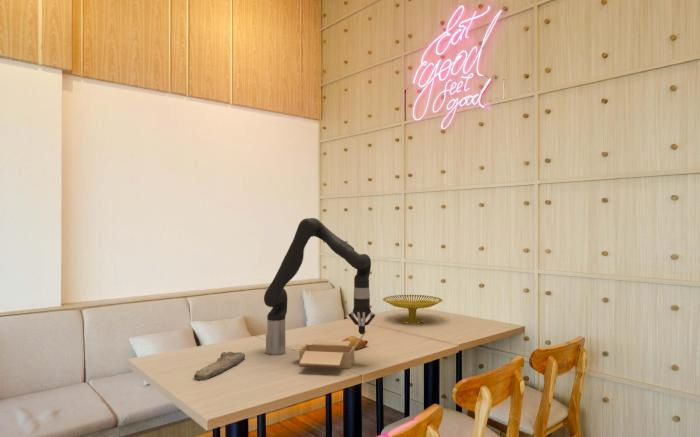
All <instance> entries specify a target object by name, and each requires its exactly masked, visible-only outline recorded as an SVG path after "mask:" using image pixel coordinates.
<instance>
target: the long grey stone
mask: <svg viewBox="0 0 700 437" xmlns="http://www.w3.org/2000/svg"><path fill="white" fill-rule="evenodd" d="M245 358H246V353H245V352H241V351H237V352H233V351H228V352H225V351H223V352H221V354H220V356H219V358H217V360H216V361H214V362H212V363H209V364H208V365H206V366H204V367H202V368H201V369H199V370H196V372H195V373H194V375H193V376H194V377H193V378H195V380H196V381H199V380H203V381H207V380H209V378H213V377H214V376H217V375H220V374H221V373H224V372H225V371H228V370H230V369H231V368H232V367H236V366H237V365H238V364H240V363H241V362H242V361H243V360H244V359H245ZM206 379H207V380H206Z"/></svg>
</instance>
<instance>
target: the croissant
mask: <svg viewBox="0 0 700 437" xmlns="http://www.w3.org/2000/svg"><path fill="white" fill-rule="evenodd" d="M359 339H360V338H359V337H357V336H354V335H350V336H347V337H346V338H344V339H342V340H341V341H351V343H350V344H349V346H355V344H356V343H357V342H358V340H359ZM368 344H369V341H368V340H366V339H363V338H362V339H361V340H360V342H359V343H358V344H357V346H356V347H355V348H354V351H357V350H359V349H362V348H364V347H366V346H367V345H368Z"/></svg>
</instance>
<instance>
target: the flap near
mask: <svg viewBox="0 0 700 437" xmlns="http://www.w3.org/2000/svg"><path fill="white" fill-rule="evenodd" d="M342 357H343V353H342V352H318V351H305V353H304V355H303V357H302V359H301V361H300V364H311V365H332V366H340V363H341V360H342Z"/></svg>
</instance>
